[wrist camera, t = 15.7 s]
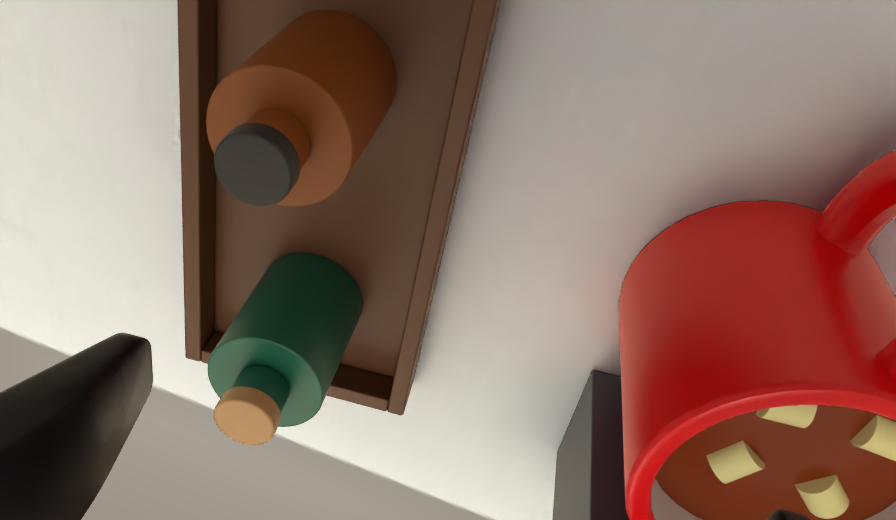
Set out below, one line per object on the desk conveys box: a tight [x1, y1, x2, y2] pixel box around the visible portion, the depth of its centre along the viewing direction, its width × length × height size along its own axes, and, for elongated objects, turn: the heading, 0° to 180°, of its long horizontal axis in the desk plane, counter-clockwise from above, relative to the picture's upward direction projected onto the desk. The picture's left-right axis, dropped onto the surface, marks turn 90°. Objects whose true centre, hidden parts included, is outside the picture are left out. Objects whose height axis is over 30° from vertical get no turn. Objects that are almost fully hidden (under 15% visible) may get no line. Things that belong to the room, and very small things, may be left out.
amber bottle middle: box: [206, 10, 397, 206], centre depth 18 cm, size 4×4×6 cm
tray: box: [178, 0, 501, 415], centre depth 21 cm, size 8×23×2 cm, turn 169°
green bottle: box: [208, 253, 363, 445], centre depth 23 cm, size 4×4×6 cm
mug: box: [619, 150, 896, 520], centre depth 19 cm, size 8×12×8 cm, turn 161°
